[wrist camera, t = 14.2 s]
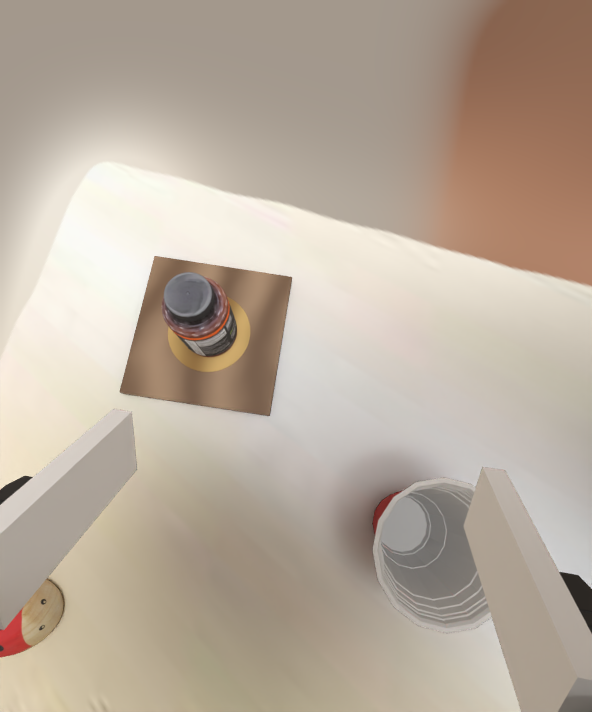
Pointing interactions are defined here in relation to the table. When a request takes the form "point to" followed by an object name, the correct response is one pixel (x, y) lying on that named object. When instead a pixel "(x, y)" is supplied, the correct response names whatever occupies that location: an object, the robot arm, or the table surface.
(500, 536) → the robot arm
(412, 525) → the plastic cup
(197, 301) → the supplement bottle
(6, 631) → the ladybug figurine
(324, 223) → the table surface
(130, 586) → the table surface
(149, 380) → the walnut board
